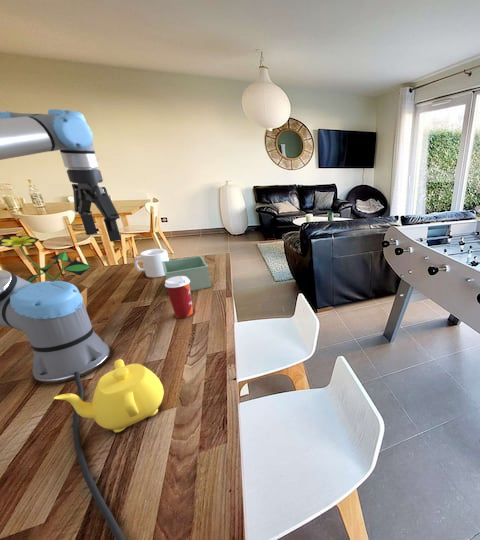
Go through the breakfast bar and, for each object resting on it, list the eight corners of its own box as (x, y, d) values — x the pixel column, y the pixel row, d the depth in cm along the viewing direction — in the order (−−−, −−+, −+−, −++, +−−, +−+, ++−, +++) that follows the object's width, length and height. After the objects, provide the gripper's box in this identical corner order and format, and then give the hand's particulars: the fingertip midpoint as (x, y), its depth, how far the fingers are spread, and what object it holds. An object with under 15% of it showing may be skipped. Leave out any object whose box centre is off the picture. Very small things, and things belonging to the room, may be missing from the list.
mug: (134, 279, 130) (128, 257, 126) (140, 270, 139) (135, 250, 135) (169, 275, 135) (164, 254, 131) (173, 268, 144) (168, 248, 140)
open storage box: (211, 286, 127) (207, 266, 123) (170, 295, 118) (164, 273, 114) (204, 274, 138) (201, 255, 134) (166, 281, 129) (161, 261, 126)
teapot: (122, 388, 72) (109, 350, 68) (180, 389, 73) (170, 352, 68) (72, 439, 59) (51, 396, 55) (142, 440, 60) (127, 398, 55)
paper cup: (200, 312, 107) (193, 278, 101) (179, 322, 100) (170, 286, 95) (188, 306, 110) (181, 273, 105) (167, 315, 104) (159, 280, 99)
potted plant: (30, 339, 88) (-14, 247, 77) (40, 314, 101) (3, 231, 90) (105, 321, 99) (77, 237, 87) (105, 300, 112) (80, 225, 101)
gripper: (121, 171, 84) (139, 240, 92) (76, 166, 94) (96, 229, 101) (90, 172, 78) (112, 246, 86) (45, 166, 87) (69, 234, 95)
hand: (103, 237), depth 94 cm, fingers open, 13 cm apart
